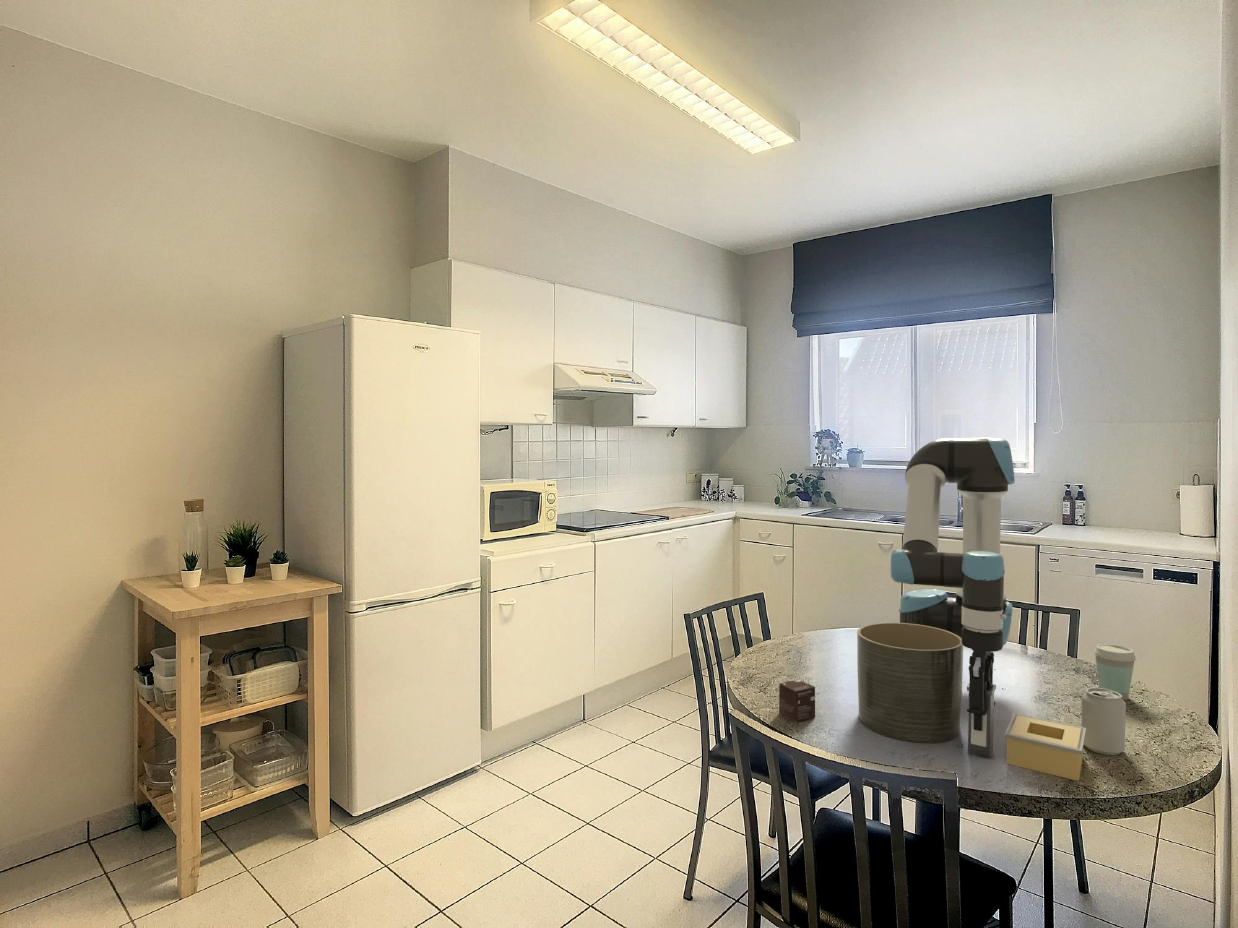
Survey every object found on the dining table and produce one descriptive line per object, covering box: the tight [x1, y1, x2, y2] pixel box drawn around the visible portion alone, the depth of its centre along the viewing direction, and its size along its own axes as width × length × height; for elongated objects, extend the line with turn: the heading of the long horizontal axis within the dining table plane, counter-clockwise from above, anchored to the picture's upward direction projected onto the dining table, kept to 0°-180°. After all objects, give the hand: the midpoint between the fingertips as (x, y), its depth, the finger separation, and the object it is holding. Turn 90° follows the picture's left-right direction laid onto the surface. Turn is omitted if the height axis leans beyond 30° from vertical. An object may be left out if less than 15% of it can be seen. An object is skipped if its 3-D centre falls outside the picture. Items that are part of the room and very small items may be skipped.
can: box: [1080, 687, 1127, 756], centre depth 143 cm, size 8×8×12 cm
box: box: [778, 679, 816, 723], centre depth 162 cm, size 6×6×7 cm
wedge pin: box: [966, 682, 997, 760], centre depth 142 cm, size 5×5×14 cm
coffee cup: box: [1093, 643, 1137, 701], centre depth 172 cm, size 8×9×12 cm
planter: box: [856, 622, 964, 744], centre depth 157 cm, size 22×22×20 cm
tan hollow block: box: [1004, 712, 1086, 782], centre depth 138 cm, size 13×13×6 cm
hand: (980, 740), depth 142 cm, fingers closed on wedge pin, 4 cm apart
